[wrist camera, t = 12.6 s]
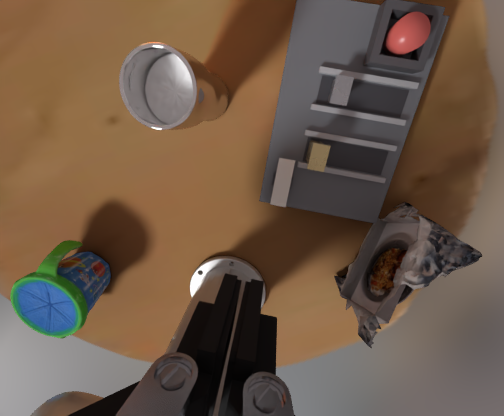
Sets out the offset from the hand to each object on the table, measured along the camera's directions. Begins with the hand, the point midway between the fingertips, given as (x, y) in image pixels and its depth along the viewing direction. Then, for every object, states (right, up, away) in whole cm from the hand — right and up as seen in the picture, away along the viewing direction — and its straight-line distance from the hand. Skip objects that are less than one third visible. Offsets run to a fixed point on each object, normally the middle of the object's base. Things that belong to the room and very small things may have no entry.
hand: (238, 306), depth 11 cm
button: (+16, +22, +18) cm, 33 cm away
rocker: (+4, +7, +23) cm, 25 cm away
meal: (+19, -1, +29) cm, 35 cm away
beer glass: (-6, +19, +25) cm, 32 cm away
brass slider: (+8, +11, +23) cm, 27 cm away
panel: (+12, +15, +24) cm, 31 cm away
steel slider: (+10, +18, +20) cm, 29 cm away
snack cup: (-27, -7, +36) cm, 46 cm away
